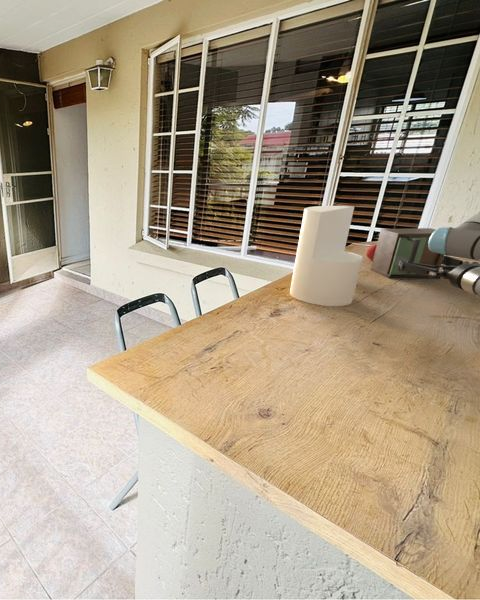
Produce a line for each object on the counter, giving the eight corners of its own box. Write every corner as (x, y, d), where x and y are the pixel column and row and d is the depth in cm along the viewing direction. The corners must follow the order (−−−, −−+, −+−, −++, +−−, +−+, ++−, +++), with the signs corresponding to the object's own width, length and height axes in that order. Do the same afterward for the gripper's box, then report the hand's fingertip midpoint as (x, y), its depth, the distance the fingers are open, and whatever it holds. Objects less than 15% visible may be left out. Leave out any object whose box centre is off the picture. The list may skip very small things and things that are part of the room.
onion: (362, 261, 149) (367, 242, 146) (366, 258, 152) (370, 240, 149) (379, 263, 144) (384, 244, 142) (383, 261, 148) (388, 242, 145)
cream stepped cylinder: (278, 294, 118) (292, 209, 108) (309, 284, 125) (325, 204, 115) (332, 310, 104) (354, 214, 94) (364, 298, 111) (387, 208, 101)
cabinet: (440, 278, 124) (455, 233, 119) (389, 278, 127) (401, 234, 122) (417, 269, 135) (429, 228, 129) (370, 269, 138) (380, 229, 132)
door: (425, 278, 121) (438, 239, 117) (399, 278, 123) (410, 240, 118) (414, 274, 126) (425, 236, 122) (389, 273, 128) (399, 236, 123)
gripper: (419, 291, 101) (375, 270, 120) (523, 292, 97) (460, 270, 116) (427, 266, 98) (380, 249, 118) (534, 266, 94) (468, 248, 113)
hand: (420, 260), depth 117 cm, fingers open, 13 cm apart
